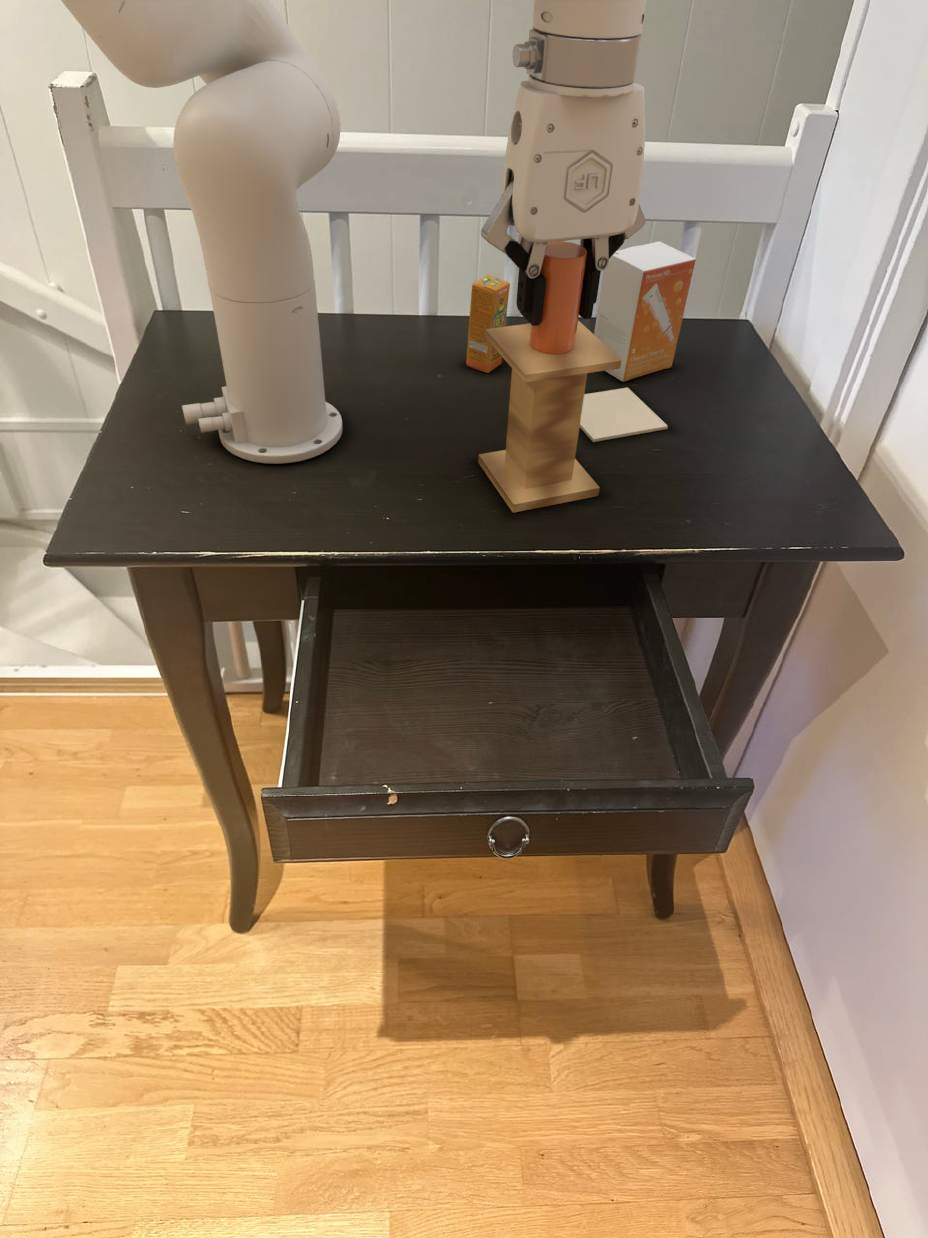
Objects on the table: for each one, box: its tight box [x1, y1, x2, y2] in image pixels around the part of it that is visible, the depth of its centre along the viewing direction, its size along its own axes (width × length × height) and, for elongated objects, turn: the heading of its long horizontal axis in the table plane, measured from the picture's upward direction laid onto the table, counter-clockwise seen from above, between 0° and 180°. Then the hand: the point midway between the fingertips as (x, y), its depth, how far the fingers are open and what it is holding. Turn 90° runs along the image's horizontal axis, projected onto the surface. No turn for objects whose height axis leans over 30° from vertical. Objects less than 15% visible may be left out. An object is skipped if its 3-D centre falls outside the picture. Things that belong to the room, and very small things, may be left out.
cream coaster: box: [579, 387, 669, 443], centre depth 92 cm, size 9×9×1 cm
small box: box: [593, 240, 697, 383], centre depth 97 cm, size 8×6×13 cm
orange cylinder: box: [529, 241, 587, 354], centre depth 70 cm, size 4×4×8 cm
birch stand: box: [477, 319, 621, 514], centre depth 78 cm, size 9×9×14 cm
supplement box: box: [465, 274, 511, 374], centre depth 97 cm, size 3×3×10 cm
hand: (555, 313), depth 71 cm, fingers closed on orange cylinder, 4 cm apart
